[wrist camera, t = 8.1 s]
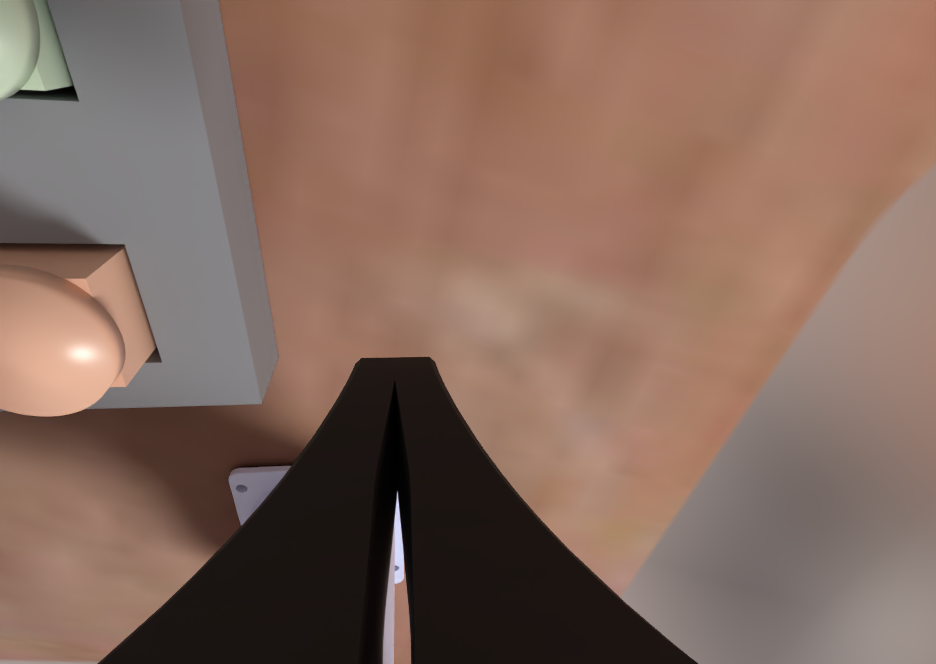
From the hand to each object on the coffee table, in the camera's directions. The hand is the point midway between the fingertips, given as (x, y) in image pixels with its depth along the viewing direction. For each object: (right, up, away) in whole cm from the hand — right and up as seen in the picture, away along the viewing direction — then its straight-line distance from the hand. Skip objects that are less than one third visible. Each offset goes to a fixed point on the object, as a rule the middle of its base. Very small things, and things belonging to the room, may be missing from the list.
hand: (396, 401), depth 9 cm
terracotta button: (-11, +3, +7) cm, 14 cm away
